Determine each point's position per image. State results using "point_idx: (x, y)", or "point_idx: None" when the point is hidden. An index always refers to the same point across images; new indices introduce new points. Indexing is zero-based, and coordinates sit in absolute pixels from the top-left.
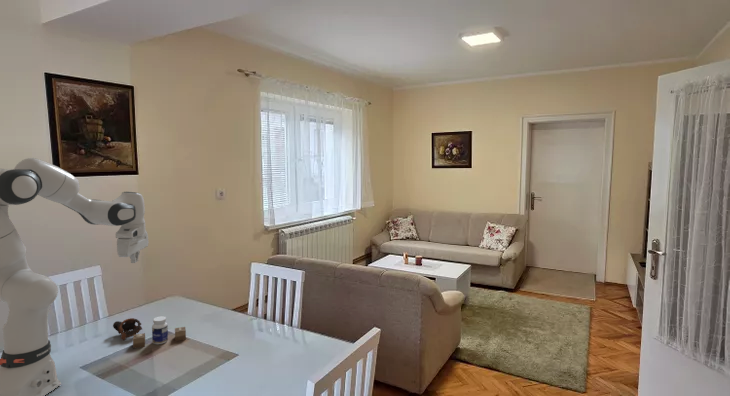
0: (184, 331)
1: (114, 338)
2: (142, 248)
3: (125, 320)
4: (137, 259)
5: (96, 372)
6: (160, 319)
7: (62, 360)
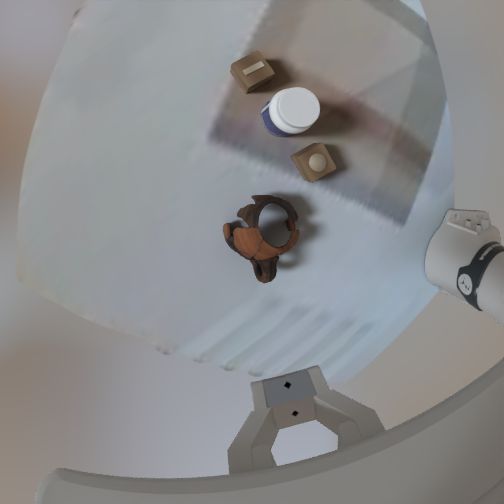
0: (259, 53)
1: None
2: (187, 484)
3: (273, 247)
4: (272, 390)
5: (418, 179)
6: (306, 100)
7: (381, 278)
